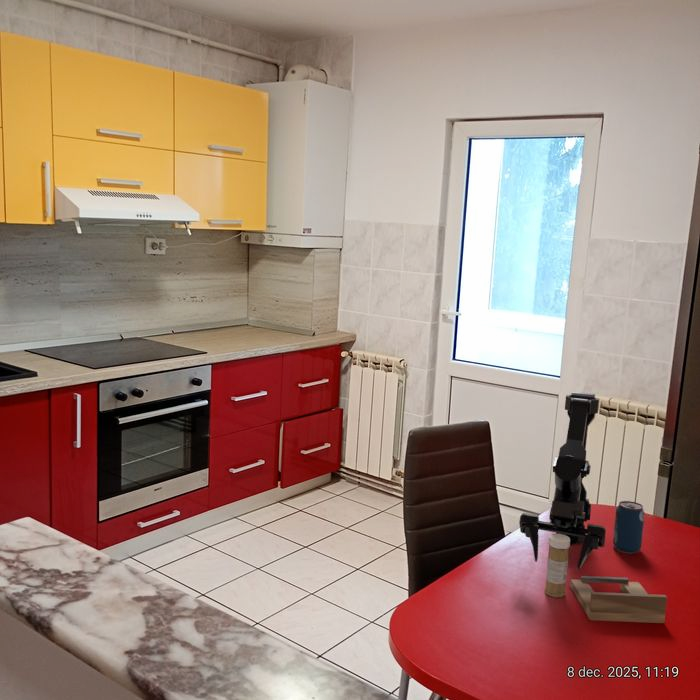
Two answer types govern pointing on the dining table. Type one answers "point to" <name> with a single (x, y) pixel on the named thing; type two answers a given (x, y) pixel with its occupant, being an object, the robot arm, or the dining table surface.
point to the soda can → (628, 527)
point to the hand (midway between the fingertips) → (556, 564)
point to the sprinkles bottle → (557, 565)
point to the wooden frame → (619, 601)
